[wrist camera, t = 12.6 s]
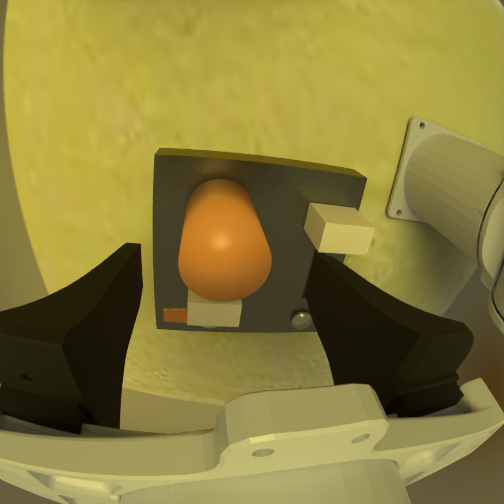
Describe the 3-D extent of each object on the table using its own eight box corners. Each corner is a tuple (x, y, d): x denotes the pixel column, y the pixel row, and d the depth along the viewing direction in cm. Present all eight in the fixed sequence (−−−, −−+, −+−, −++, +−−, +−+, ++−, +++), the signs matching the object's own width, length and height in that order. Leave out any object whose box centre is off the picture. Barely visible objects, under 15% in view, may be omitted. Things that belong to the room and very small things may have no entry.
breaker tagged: (237, 276, 21) (242, 304, 18) (234, 297, 22) (238, 326, 19) (189, 273, 20) (187, 302, 18) (188, 295, 21) (187, 325, 19)
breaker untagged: (354, 207, 19) (375, 228, 17) (347, 232, 20) (366, 255, 18) (309, 202, 19) (326, 222, 16) (303, 228, 20) (318, 252, 17)
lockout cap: (265, 200, 18) (289, 249, 13) (230, 251, 20) (240, 313, 15) (207, 166, 17) (207, 204, 12) (174, 222, 18) (163, 280, 13)
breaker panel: (354, 169, 20) (369, 180, 18) (312, 315, 27) (320, 334, 24) (159, 147, 18) (153, 155, 16) (159, 311, 24) (156, 332, 22)
